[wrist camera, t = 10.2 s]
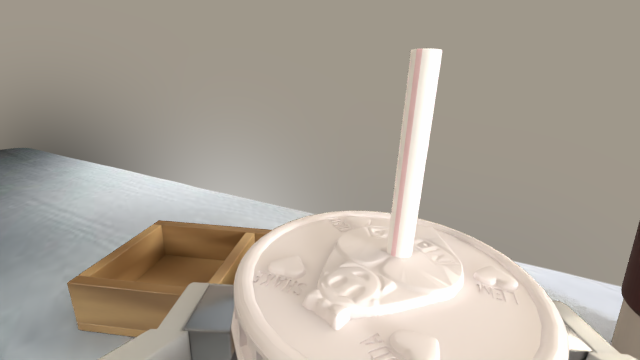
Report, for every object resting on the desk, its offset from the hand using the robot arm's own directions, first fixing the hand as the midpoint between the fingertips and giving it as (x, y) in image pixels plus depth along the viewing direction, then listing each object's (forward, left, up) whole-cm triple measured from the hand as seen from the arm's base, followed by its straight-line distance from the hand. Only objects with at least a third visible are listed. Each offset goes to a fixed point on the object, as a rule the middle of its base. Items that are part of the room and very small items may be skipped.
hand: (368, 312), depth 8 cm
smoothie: (0, -1, -8) cm, 8 cm away
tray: (-11, +9, -10) cm, 18 cm away
